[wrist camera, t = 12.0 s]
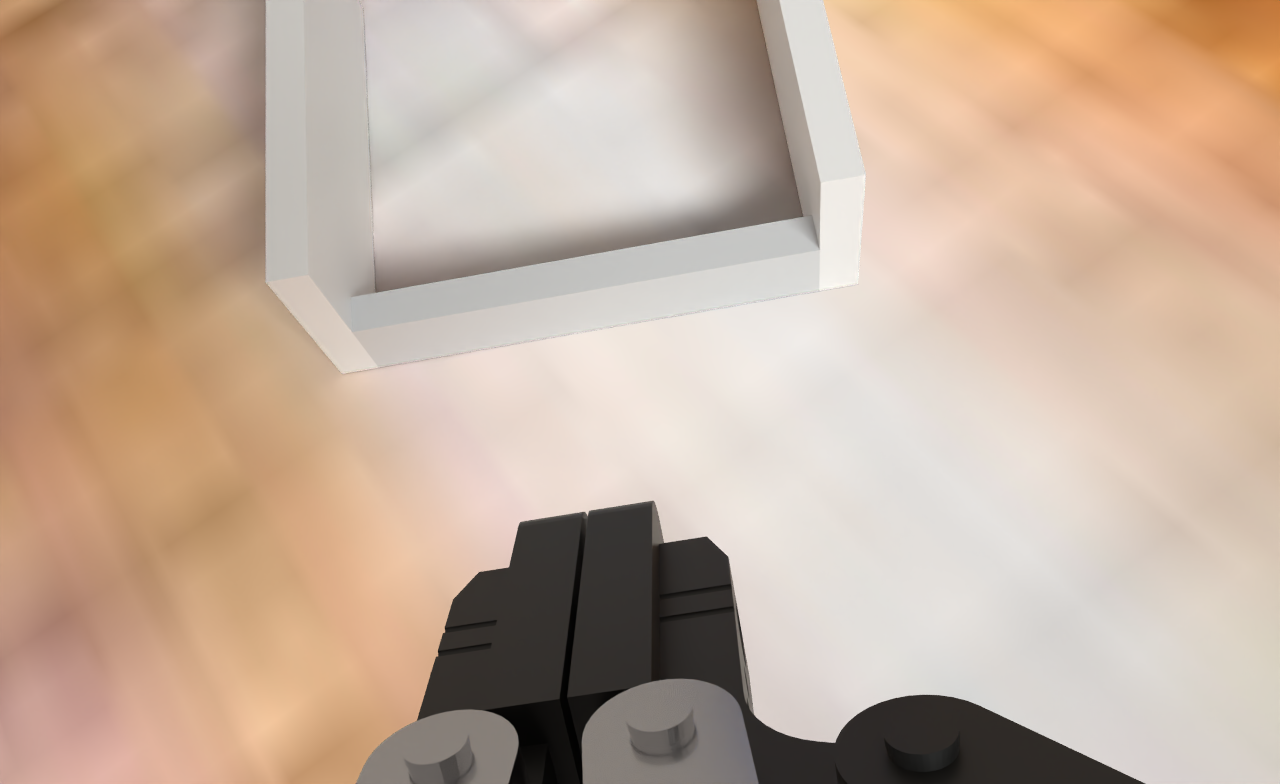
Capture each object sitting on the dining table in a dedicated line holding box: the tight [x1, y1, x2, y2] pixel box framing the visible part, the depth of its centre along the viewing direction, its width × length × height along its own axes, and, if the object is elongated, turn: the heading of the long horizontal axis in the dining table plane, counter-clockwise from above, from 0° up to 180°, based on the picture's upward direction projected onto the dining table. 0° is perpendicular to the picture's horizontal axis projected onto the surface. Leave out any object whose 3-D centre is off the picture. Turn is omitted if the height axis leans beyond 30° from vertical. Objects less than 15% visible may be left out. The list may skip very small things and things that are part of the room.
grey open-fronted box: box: [266, 0, 866, 374], centre depth 39 cm, size 16×15×6 cm
